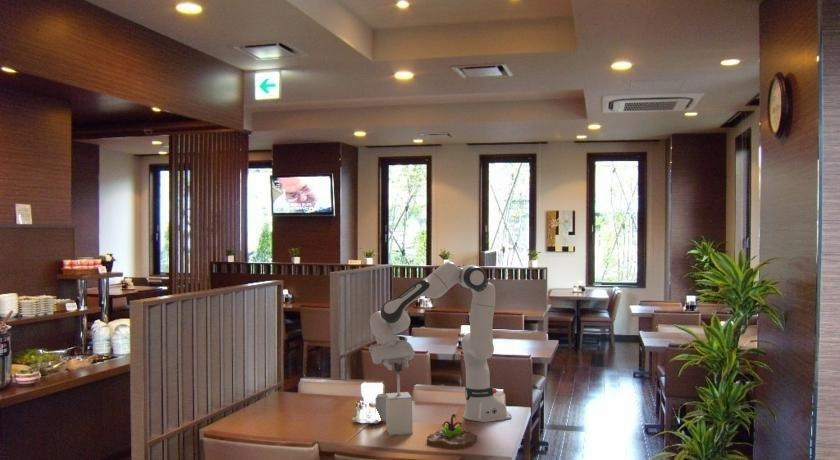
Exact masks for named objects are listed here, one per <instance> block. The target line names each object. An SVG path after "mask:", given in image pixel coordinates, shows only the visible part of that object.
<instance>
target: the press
mask: <svg viewBox="0 0 840 460" xmlns="http://www.w3.org/2000/svg"><path fill="white" fill-rule="evenodd" d="M385 394H386V422H385V423H386V424H385V425H386V427H385V430H386V432H387V433H388V435H389V437H391V436H392V437H393V436H405V435H413V432H414V431H413V428H414V427H413V396H412V395H411V394H410V392H408V391H405V392H404V391H403V392H402V391H400V396H397V392H389V393H387V392H386V393H385Z"/></svg>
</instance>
